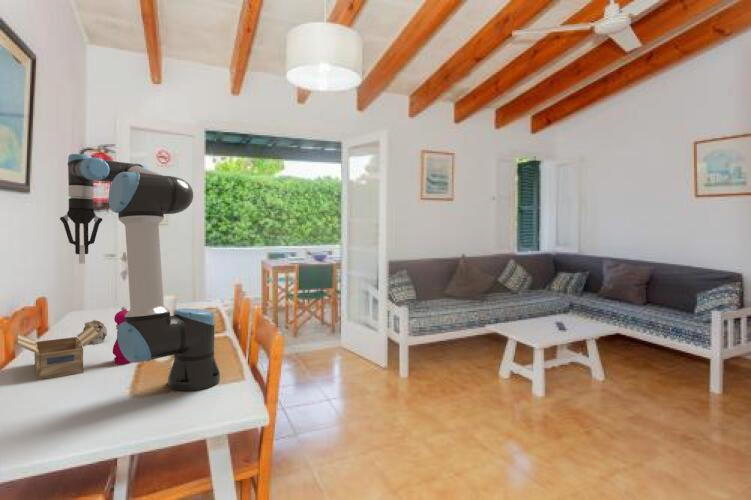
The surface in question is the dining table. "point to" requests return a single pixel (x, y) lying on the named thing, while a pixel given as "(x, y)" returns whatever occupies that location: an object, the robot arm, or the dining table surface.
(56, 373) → the carton
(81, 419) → the dining table surface
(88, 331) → the flap right
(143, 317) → the robot arm
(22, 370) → the dining table surface
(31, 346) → the flap left
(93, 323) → the rock
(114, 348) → the pepper mill
